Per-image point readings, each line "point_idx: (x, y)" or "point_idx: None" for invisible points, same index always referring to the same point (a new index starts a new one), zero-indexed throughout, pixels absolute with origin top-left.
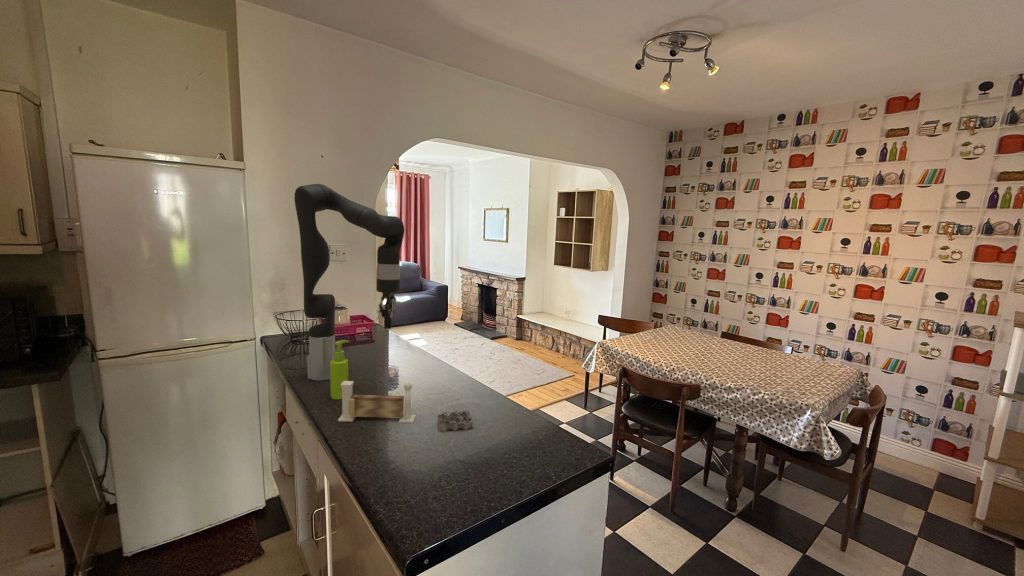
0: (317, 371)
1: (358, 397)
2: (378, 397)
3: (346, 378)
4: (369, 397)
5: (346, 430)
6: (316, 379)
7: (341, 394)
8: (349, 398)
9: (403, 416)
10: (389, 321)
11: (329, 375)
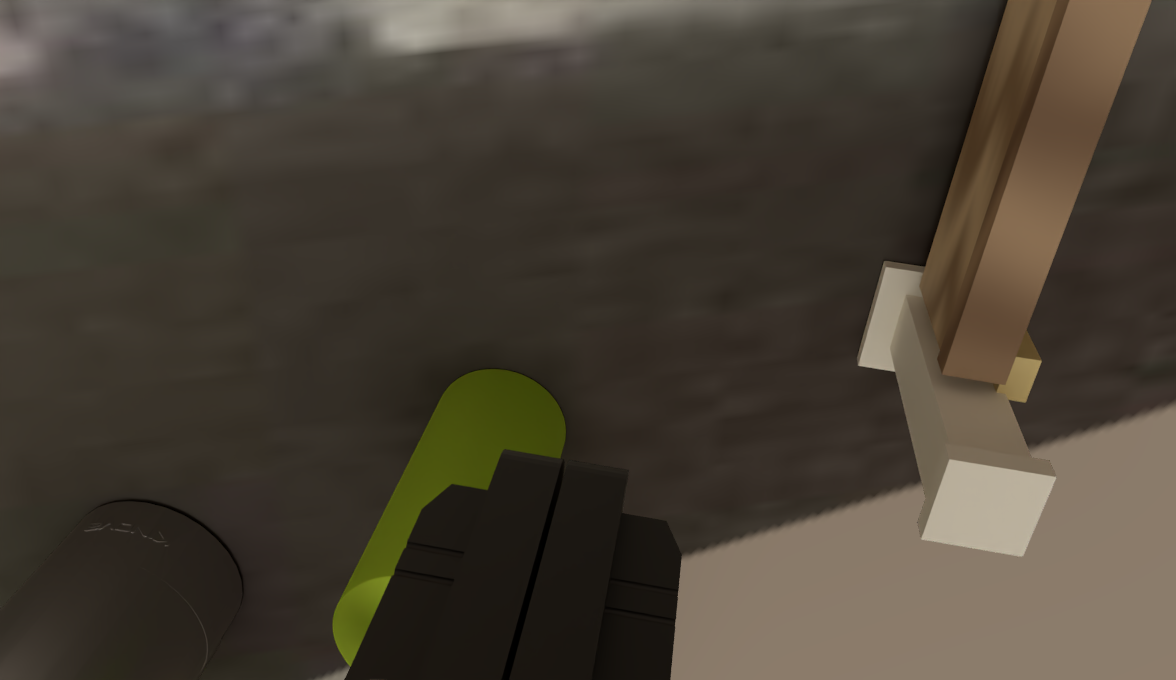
0: (209, 641)
1: (1023, 333)
2: (1082, 143)
3: (488, 471)
4: (1057, 234)
5: (1146, 299)
6: (239, 600)
7: (551, 425)
8: (1003, 401)
9: None
10: (621, 654)
11: (188, 546)
